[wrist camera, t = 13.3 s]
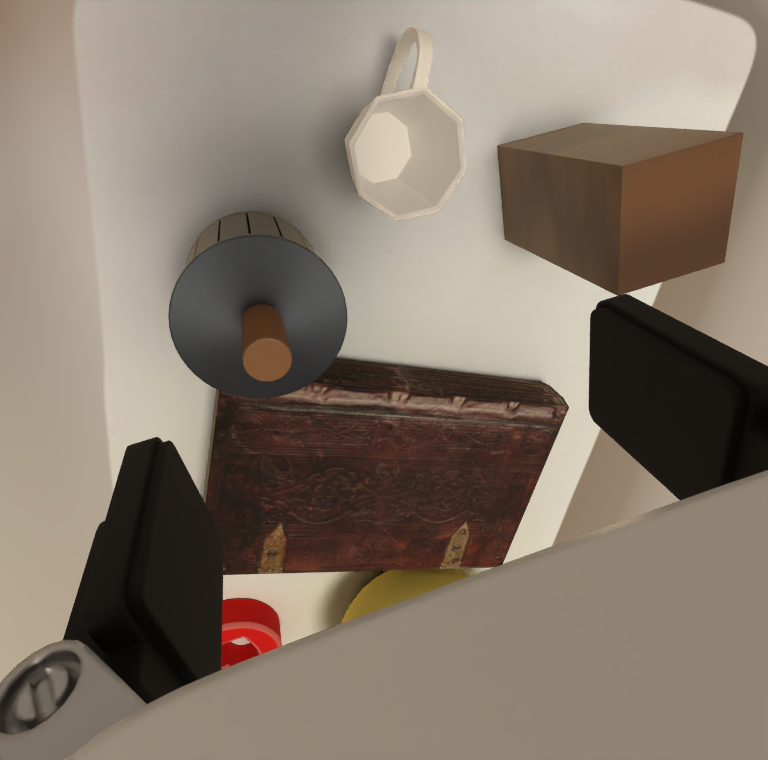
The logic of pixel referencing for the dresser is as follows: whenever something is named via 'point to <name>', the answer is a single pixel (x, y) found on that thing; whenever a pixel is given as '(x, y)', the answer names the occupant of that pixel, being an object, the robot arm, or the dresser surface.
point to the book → (378, 470)
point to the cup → (407, 141)
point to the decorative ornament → (248, 630)
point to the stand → (621, 200)
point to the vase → (398, 589)
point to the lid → (257, 316)
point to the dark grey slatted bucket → (245, 230)
